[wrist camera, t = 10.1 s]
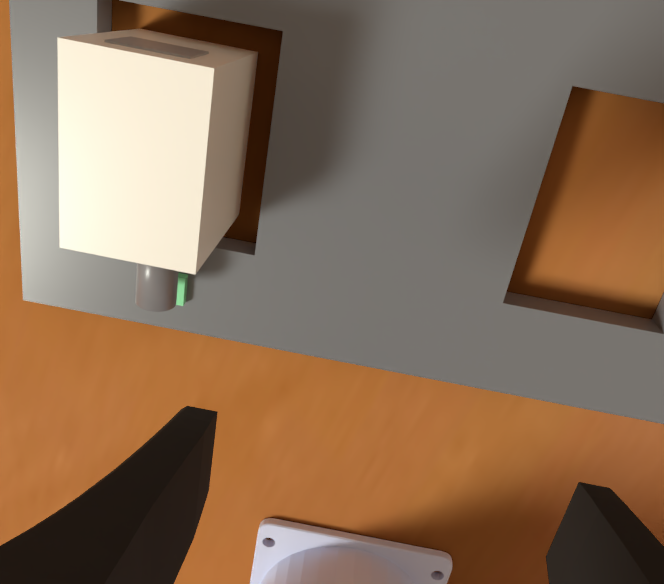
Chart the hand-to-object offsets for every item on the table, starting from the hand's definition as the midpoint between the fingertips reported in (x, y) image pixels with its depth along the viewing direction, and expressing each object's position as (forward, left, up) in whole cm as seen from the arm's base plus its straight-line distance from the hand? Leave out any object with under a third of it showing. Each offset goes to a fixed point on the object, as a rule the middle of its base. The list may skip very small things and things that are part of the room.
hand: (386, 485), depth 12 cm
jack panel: (+4, 0, -9) cm, 10 cm away
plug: (+4, +7, -10) cm, 12 cm away
